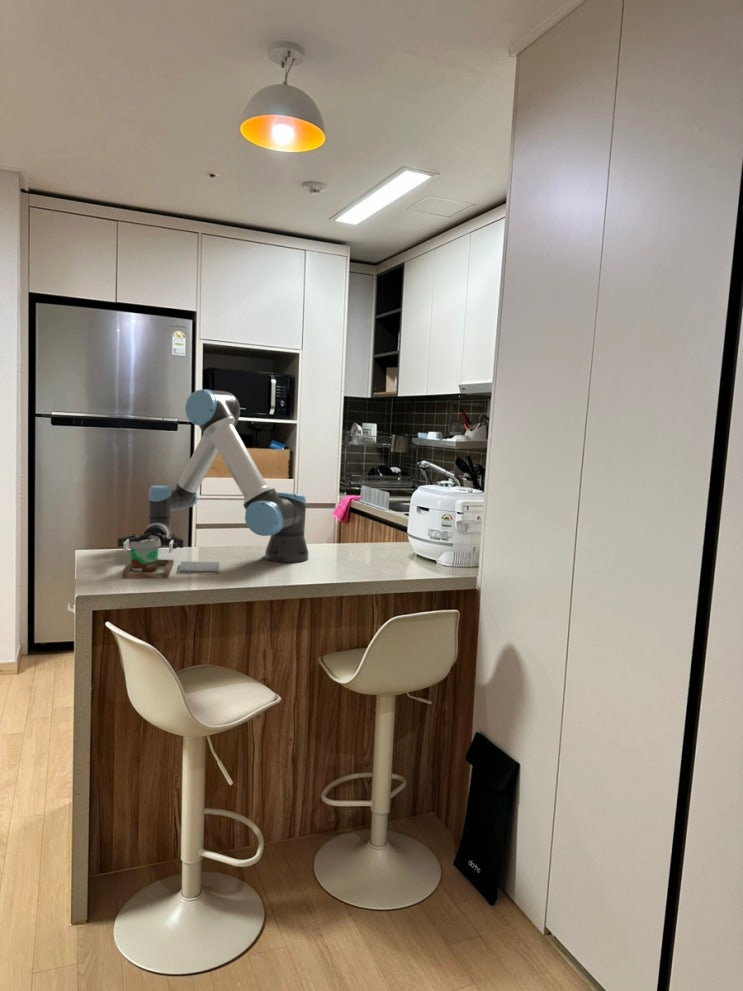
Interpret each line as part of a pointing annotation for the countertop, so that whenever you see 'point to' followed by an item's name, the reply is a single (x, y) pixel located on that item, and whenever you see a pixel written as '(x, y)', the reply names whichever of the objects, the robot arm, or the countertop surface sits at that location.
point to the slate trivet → (199, 567)
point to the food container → (145, 554)
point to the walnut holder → (165, 574)
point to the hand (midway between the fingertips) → (147, 548)
